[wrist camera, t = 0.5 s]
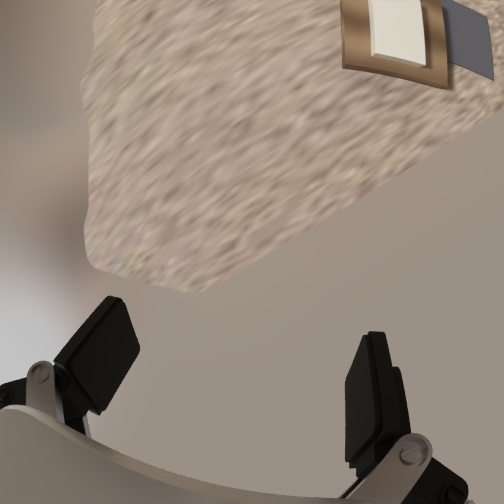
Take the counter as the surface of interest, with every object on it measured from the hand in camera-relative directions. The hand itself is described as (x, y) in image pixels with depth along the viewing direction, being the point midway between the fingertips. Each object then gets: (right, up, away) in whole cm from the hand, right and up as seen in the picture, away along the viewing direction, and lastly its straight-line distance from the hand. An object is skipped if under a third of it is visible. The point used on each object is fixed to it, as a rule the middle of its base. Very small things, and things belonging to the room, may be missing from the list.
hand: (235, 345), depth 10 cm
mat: (+29, +33, +9) cm, 45 cm away
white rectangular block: (+17, +29, +10) cm, 35 cm away
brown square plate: (+18, +30, +12) cm, 37 cm away
